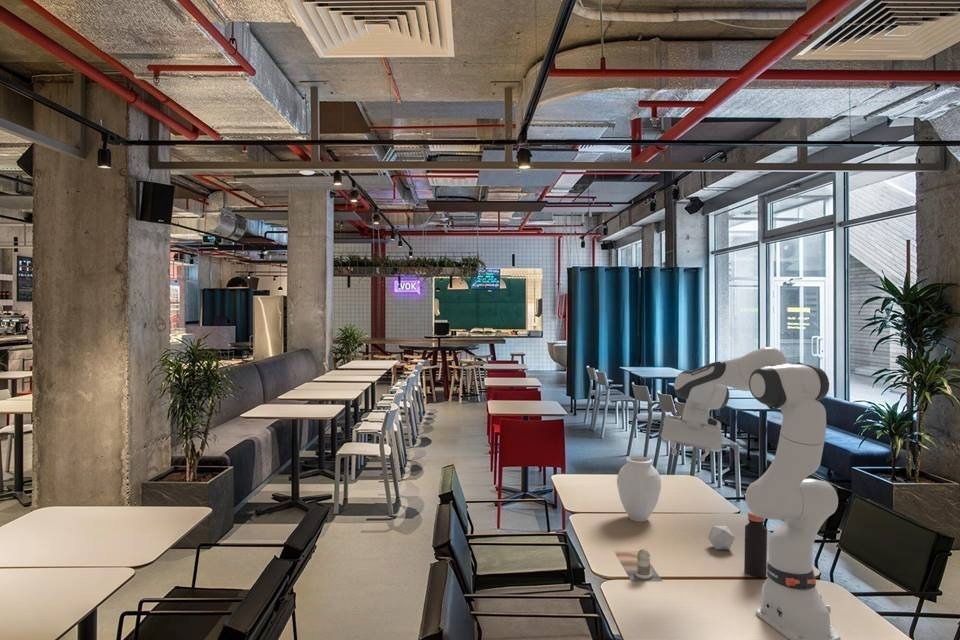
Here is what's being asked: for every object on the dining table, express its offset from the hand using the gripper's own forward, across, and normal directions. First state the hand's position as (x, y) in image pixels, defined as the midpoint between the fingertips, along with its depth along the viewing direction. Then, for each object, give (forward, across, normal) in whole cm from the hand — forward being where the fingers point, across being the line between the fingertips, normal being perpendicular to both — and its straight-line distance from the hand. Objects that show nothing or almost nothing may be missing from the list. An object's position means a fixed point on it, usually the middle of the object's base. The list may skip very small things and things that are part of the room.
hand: (687, 457), depth 214 cm
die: (+22, +15, +31) cm, 41 cm away
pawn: (+42, -6, 0) cm, 42 cm away
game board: (+39, -10, +7) cm, 41 cm away
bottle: (+29, +27, +14) cm, 42 cm away
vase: (+17, -17, +50) cm, 55 cm away
